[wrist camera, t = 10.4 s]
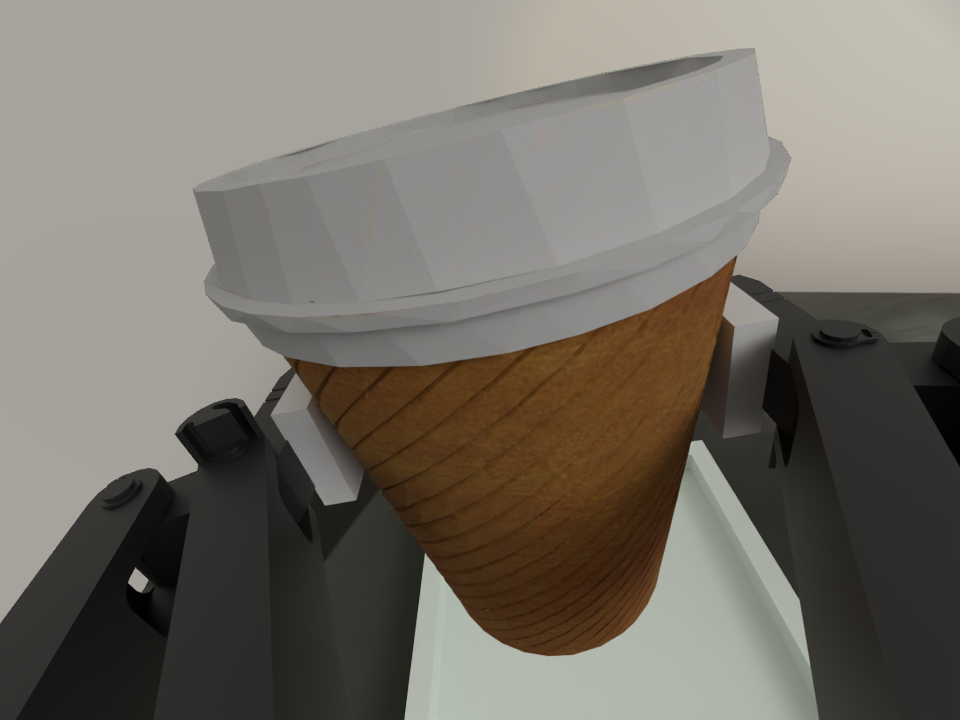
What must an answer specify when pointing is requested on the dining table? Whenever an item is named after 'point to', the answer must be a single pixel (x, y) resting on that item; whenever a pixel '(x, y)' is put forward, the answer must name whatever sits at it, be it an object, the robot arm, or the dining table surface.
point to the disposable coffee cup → (515, 319)
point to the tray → (640, 637)
